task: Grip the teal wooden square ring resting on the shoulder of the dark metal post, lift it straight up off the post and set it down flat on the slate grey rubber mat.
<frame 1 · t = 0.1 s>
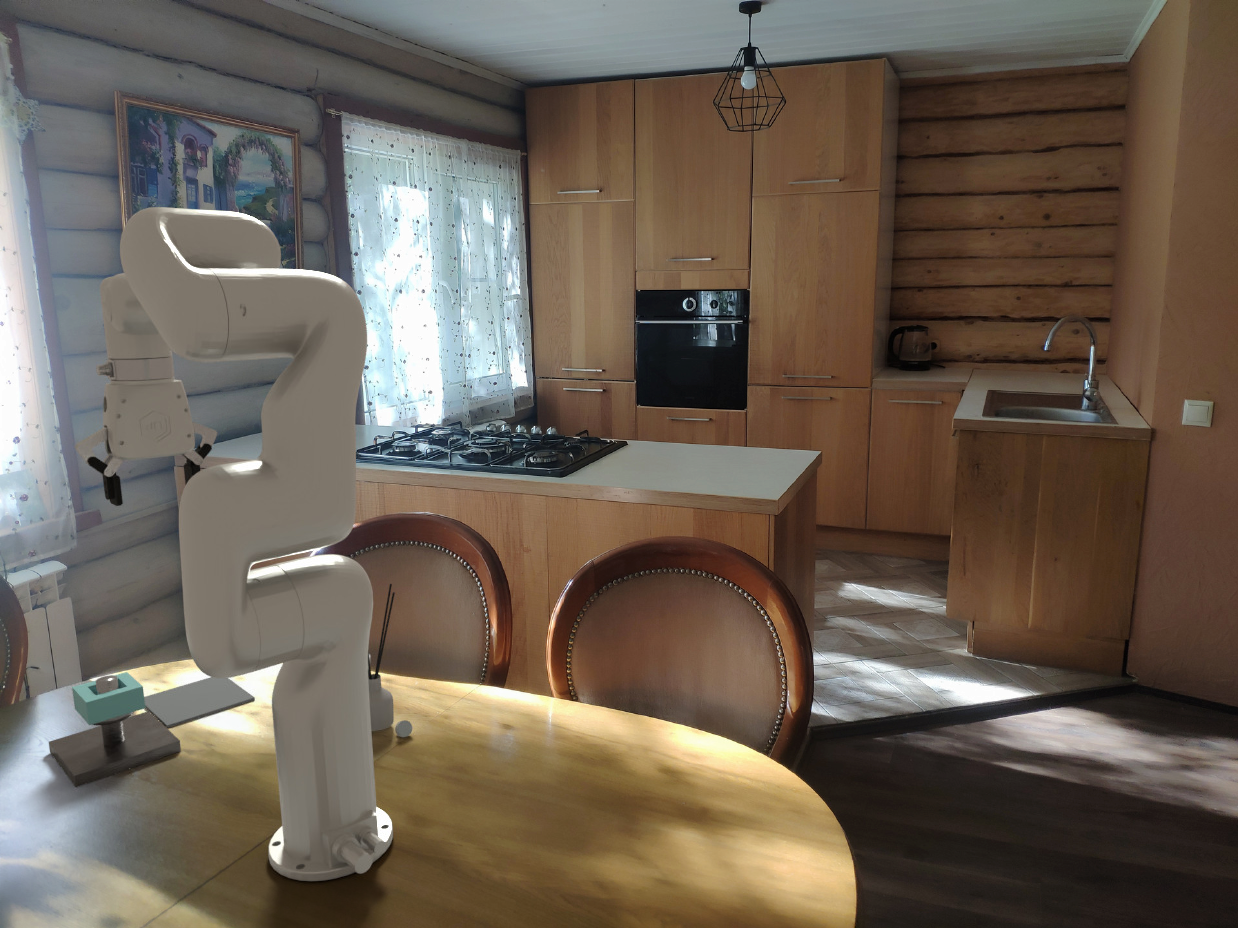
hand: (155, 498, 120), 31 cm above the table, tool pointing down, fingers open, 9 cm apart
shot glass: (348, 704, 128), on the table
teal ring: (110, 708, 113), point 6 cm above the table, touching ring stand
slate mat: (196, 700, 129), on the table
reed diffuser: (385, 727, 121), on the table
ring stand: (115, 751, 114), on the table
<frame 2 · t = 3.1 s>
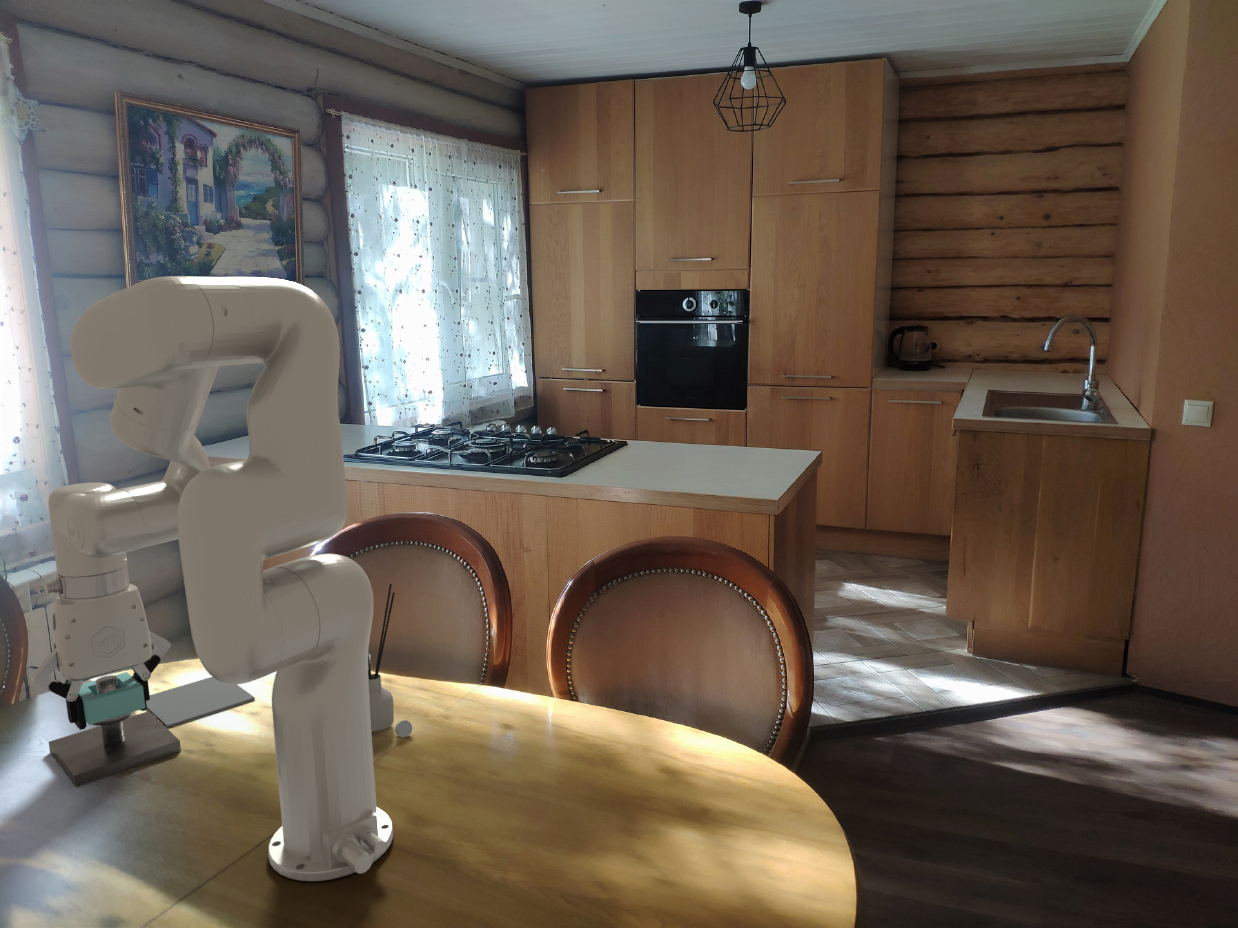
hand: (110, 715, 113), 5 cm above the table, tool pointing down, fingers closed on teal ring, 6 cm apart
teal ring: (110, 708, 113), point 6 cm above the table, touching gripper, ring stand
everything else where it was.
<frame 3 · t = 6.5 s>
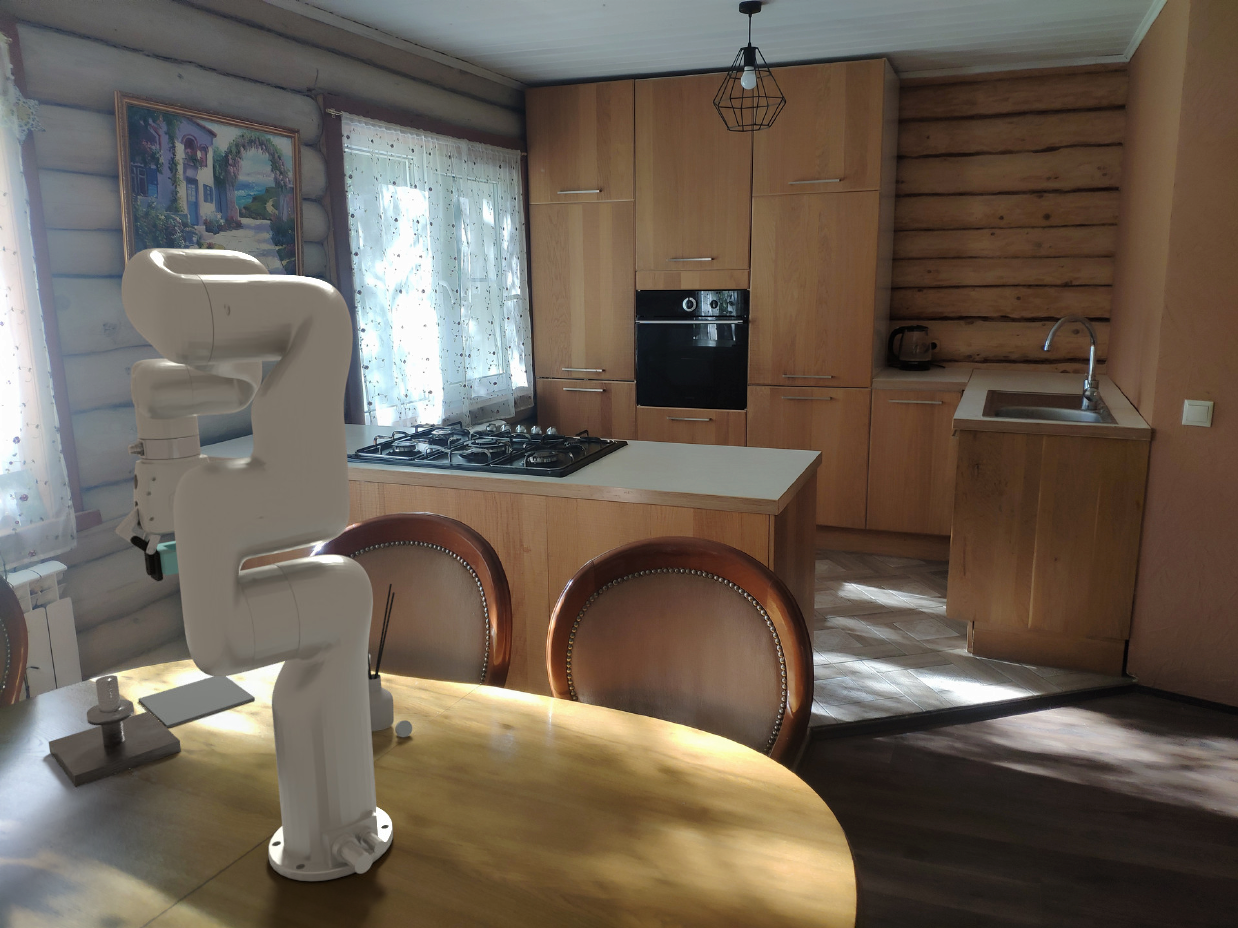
hand: (183, 572, 125), 19 cm above the table, tool pointing down, fingers closed on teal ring, 6 cm apart
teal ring: (182, 565, 125), point 20 cm above the table, touching gripper
everything else where it was.
when the fingers open (1 cm above the table, at t = 10.3 s): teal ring drops 2 cm, resting on slate mat.
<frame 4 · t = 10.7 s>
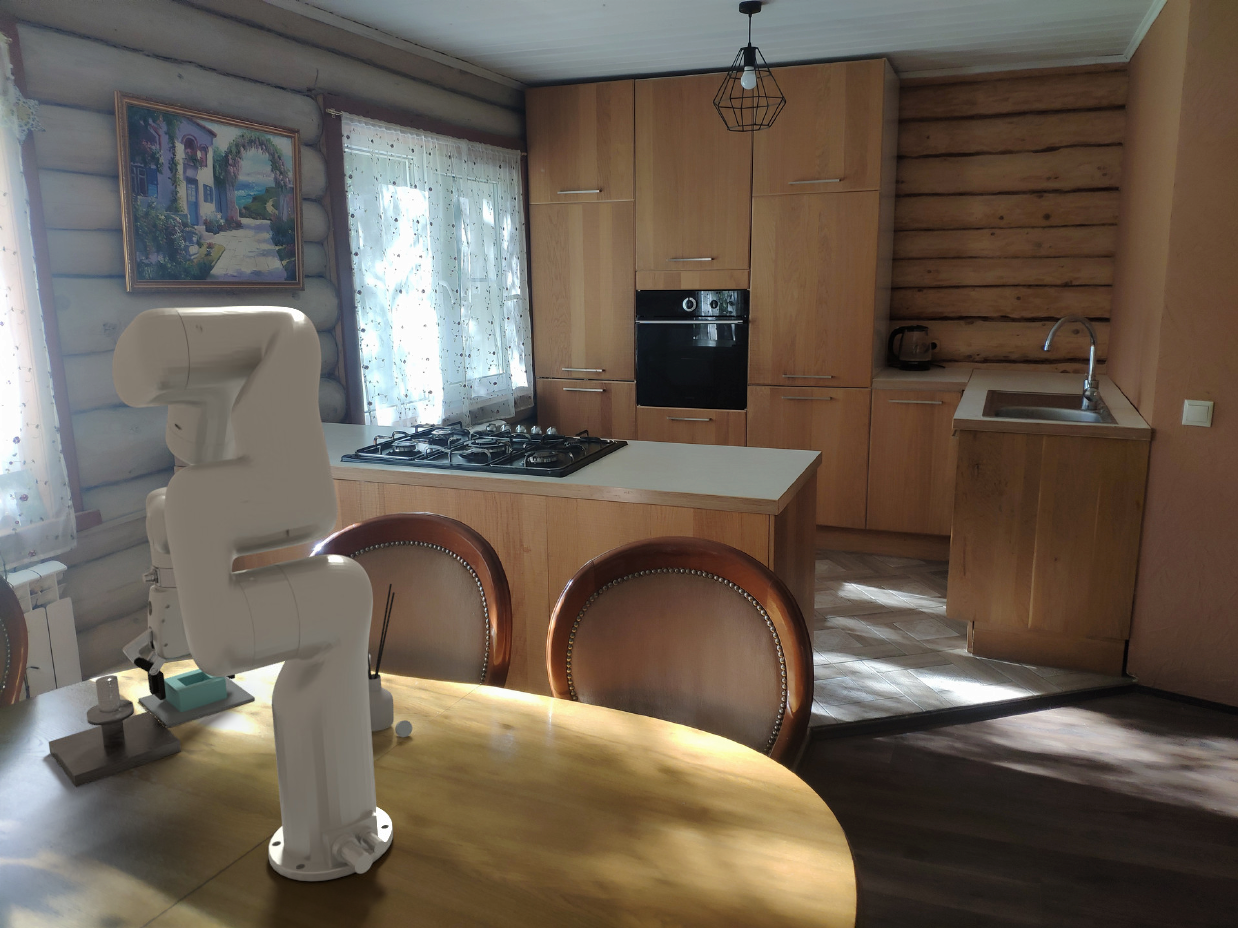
hand: (195, 686, 129), 2 cm above the table, tool pointing down, fingers open, 9 cm apart
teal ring: (196, 698, 129), resting on slate mat
everything else where it was.
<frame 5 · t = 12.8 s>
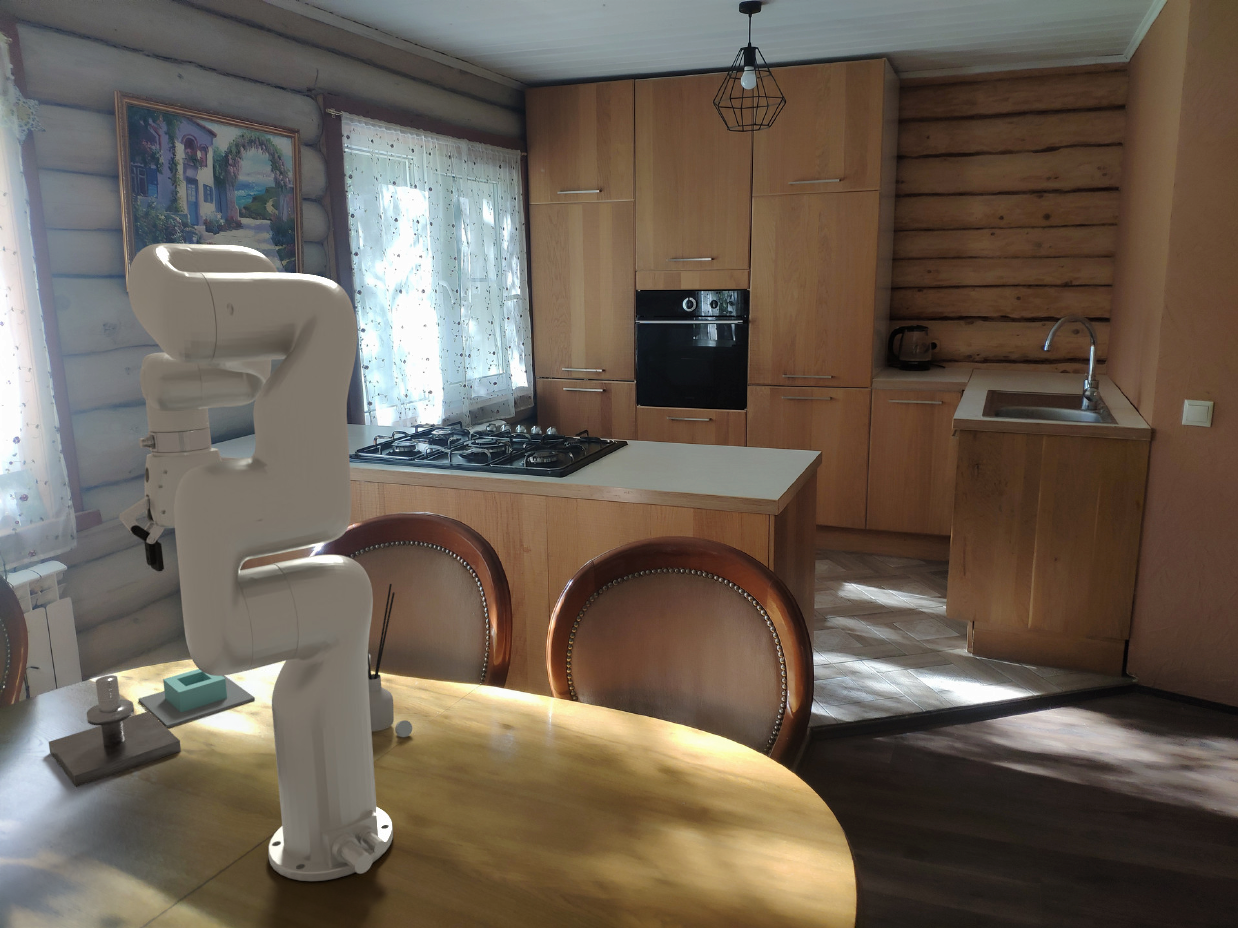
hand: (193, 561, 125), 21 cm above the table, tool pointing down, fingers open, 9 cm apart
nothing on the table moved.
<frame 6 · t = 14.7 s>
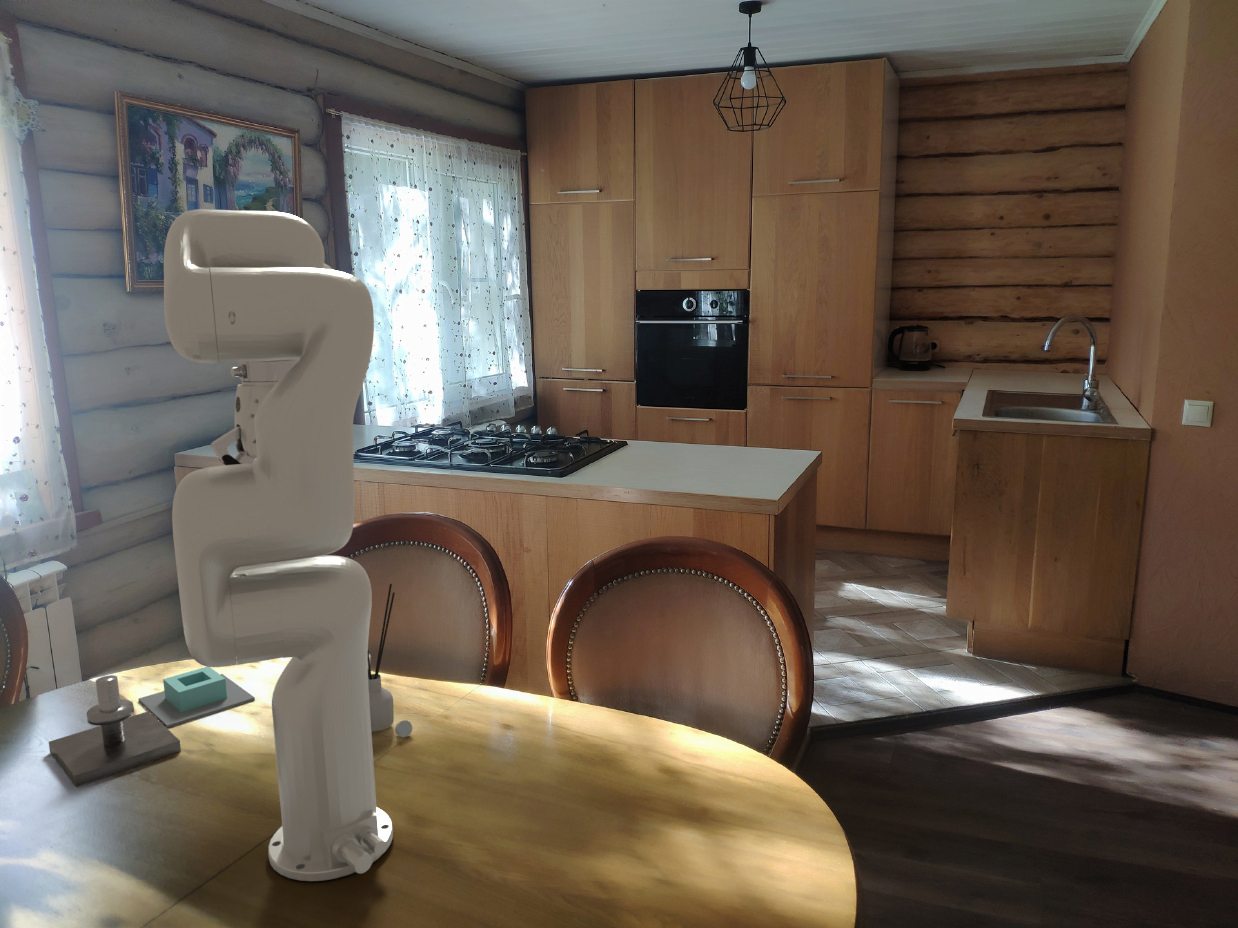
hand: (280, 494, 125), 30 cm above the table, tool pointing down, fingers open, 9 cm apart
nothing on the table moved.
at the end: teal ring inside the target area on the slate mat (0.0 cm from its centre), point 0.4 cm above the slate mat's base; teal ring tilted 0°; the gripper is holding nothing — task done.
